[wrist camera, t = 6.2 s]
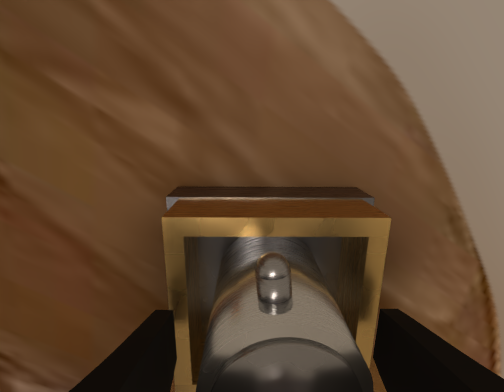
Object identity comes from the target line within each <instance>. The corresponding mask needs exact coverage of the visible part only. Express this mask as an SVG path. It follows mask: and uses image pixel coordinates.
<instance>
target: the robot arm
mask: <svg viewBox="0 0 504 392" xmlns="http://www.w3.org/2000/svg"><path fill="white" fill-rule="evenodd" d="M373 358H374V361H375V363H376V366H377V369H378V371H379V374H380V376H381V379H382V381H383V384H384V386H385V388H386V391H387V392H504V379H503V378H501V377H500V376H498V375H497V374H495V373H493V372H492V371H490V370H489V369H487V368H485V367H484V366H482V365H481V364H479V363H478V362H476V361H475V360H473V359H471V358H470V357H468V356H467V355H465V354H464V353H462V352H461V351H459V350H458V349H456V348H455V347H453V346H452V345H451V344H449V343H448V342H446V341H445V340H443V339H442V338H440V337H439V336H437V335H436V334H434V333H433V332H432V331H430V330H429V329H427V328H426V327H424V326H423V325H421V324H420V323H418V322H417V321H416V320H414V319H413V318H411V317H410V316H408V315H407V314H405V313H403V312H402V311H400V310H398V309H380V313H379V320H378V327H377V333H376V340H375V347H374V354H373ZM176 361H177V351H176V338H175V324H174V311H173V310H155V311H154V312H153V313H152V314H151V315H150V316H149V317H148V318H147V319H146V320H145V321H144V322H143V323H142V324H141V325H140V326H139V327H138V328H137V329H136V330H135V331H134V332H133V333H132V334H131V335H130V336H129V337H128V338H127V339H126V340H125V341H124V342H123V343H122V344H121V345H120V346H119V347H118V348H117V349H116V350H115V351H114V352H113V353H111V354H110V355H109V356H108V357H107V358H106V359H105V360H104V361H103V362H102V363H101V364H100V365H99V366H98V367H96V368H95V369H94V370H93V371H92V372H91V373H90V374H89V375H87V376H86V377H85V378H84V379H83V380H82V381H81V382H80V383H78V384H77V385H76V386H75V387H74V388H73V389H71V390H70V391H69V392H170V389H171V384H172V380H173V375H174V371H175V366H176Z"/></svg>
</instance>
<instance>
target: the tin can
mask: <svg viewBox="0 0 504 392" xmlns="http://www.w3.org/2000/svg"><path fill="white" fill-rule="evenodd" d="M196 392H373V381H372V377H371V373H370V371H369V368H368V366H367V364H366V362H365V360H364V358H363V356H362V354H361V352H360V350H359V348H358V346H357V344H356V342H355V340H354V338H353V336H352V334H351V331H350V329H349V327H348V325H347V323H346V321H345V319H344V317H343V315H342V313H341V311H340V309H339V307H338V305H337V303H336V301H335V299H334V297H333V295H332V293H331V291H330V289H329V287H328V285H327V283H326V281H325V279H324V277H323V275H322V273H321V271H320V269H319V267H318V265H317V263H316V261H315V259H314V257H313V255H312V253H311V251H310V250H309V248H308V247H307V246H306V244H305V243H304V242H302V241H301V240H300V239H299V238H297V237H239V238H238V239H237V240H235V241H234V242H233V243H232V244H231V245H230V246H229V248H228V249H227V250H226V252H225V254H224V255H223V258H222V260H221V264H220V268H219V273H218V278H217V284H216V289H215V294H214V299H213V304H212V309H211V314H210V320H209V325H208V330H207V335H206V340H205V345H204V350H203V355H202V361H201V366H200V371H199V376H198V381H197V386H196Z"/></svg>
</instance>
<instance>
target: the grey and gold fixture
mask: <svg viewBox="0 0 504 392" xmlns="http://www.w3.org/2000/svg"><path fill="white" fill-rule="evenodd" d="M374 199H375V198H374V197H372V196H370V195H369V194H367V193H365V192H364V191H362V190H360V189H358V188H340V187H177V188H176V189H175V190H173V191H172V192H171V193H170V194H169V195H168V196H167V197H166V201H167V212H166V213H165V214H164V215H163V216H162V228H163V241H164V254H165V266H166V279H167V292H168V305H169V310H173V311H174V324H175V338H176V351H177V361H176V366H175V371H174V381H175V392H196V386H197V381H198V376H199V371H200V366H201V361H202V355H203V350H204V345H205V340H206V335H207V330H208V325H209V320H210V314H211V309H212V304H213V299H214V294H215V289H216V284H217V278H218V273H219V268H220V264H221V260H222V258H223V255H224V254H225V252H226V250H227V249H228V248H229V246H230V245H231V244H232V243H233V242H234V241H235V240H237V239H238V238H239V237H297V238H299V239H300V240H301V241H302V242H304V243H305V244H306V246H307V247H308V248H309V250H310V251H311V253H312V255H313V257H314V259H315V261H316V263H317V265H318V267H319V269H320V271H321V273H322V275H323V277H324V279H325V281H326V283H327V285H328V287H329V289H330V291H331V293H332V295H333V297H334V299H335V301H336V303H337V305H338V307H339V309H340V311H341V313H342V315H343V317H344V319H345V321H346V323H347V325H348V327H349V329H350V331H351V334H352V336H353V338H354V340H355V342H356V344H357V346H358V348H359V350H360V352H361V354H362V356H363V358H364V360H365V362H366V364H367V366H368V368H370V361H371V354H372V347H373V340H374V333H375V327H376V320H377V313H378V306H379V299H380V292H381V285H382V279H383V272H384V265H385V258H386V251H387V244H388V237H389V231H390V224H391V217H389V216H388V215H386V214H384V213H383V212H381V211H380V210H378V209H377V208H375V207H374Z"/></svg>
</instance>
